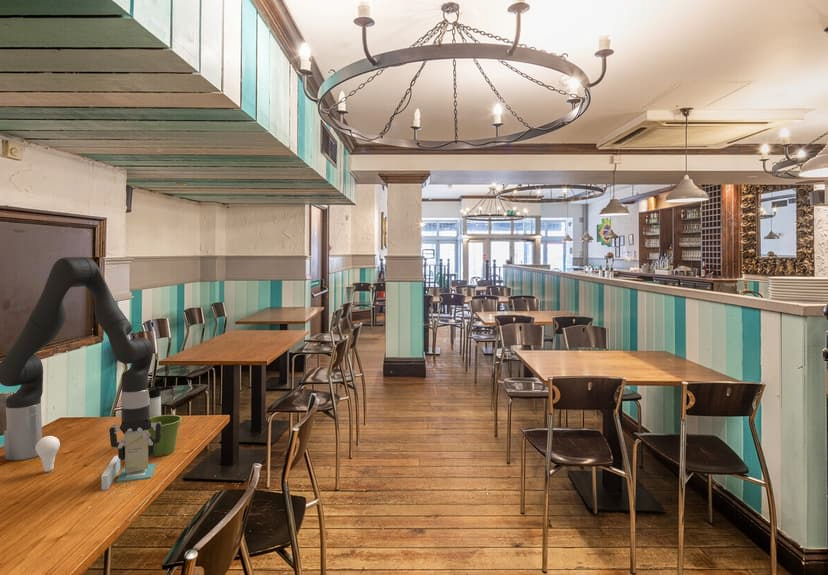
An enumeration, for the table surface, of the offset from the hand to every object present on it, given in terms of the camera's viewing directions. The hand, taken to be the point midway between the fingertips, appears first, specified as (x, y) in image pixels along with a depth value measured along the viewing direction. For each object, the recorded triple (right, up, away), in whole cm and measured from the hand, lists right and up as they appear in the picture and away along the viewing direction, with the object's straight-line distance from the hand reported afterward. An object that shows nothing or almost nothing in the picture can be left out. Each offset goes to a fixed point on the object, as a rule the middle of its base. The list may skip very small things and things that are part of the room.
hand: (136, 458), depth 154 cm
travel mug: (-9, -4, +27) cm, 28 cm away
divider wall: (-5, -5, -4) cm, 8 cm away
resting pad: (0, -5, 0) cm, 5 cm away
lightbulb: (-28, -5, +1) cm, 28 cm away
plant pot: (0, -4, +17) cm, 17 cm away
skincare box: (0, -4, 0) cm, 4 cm away
